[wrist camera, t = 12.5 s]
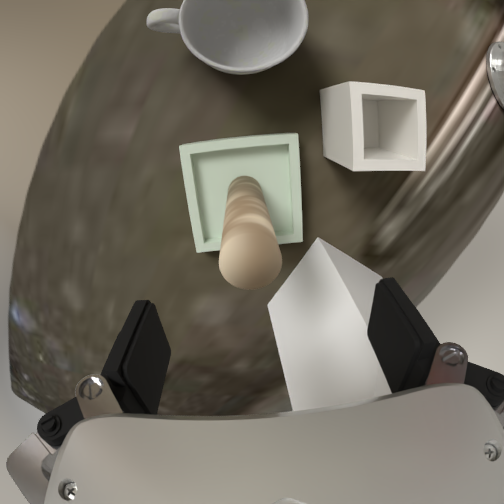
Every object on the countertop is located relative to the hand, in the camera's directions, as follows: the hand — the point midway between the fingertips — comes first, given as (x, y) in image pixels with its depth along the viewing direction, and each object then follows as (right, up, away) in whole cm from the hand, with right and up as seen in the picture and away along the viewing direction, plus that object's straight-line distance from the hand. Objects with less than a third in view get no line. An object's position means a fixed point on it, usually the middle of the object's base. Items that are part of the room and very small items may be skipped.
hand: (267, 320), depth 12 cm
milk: (+10, -2, +27) cm, 29 cm away
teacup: (-3, +26, +12) cm, 29 cm away
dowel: (-1, +9, +19) cm, 21 cm away
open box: (+11, +17, +17) cm, 26 cm away
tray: (-2, +10, +20) cm, 22 cm away
